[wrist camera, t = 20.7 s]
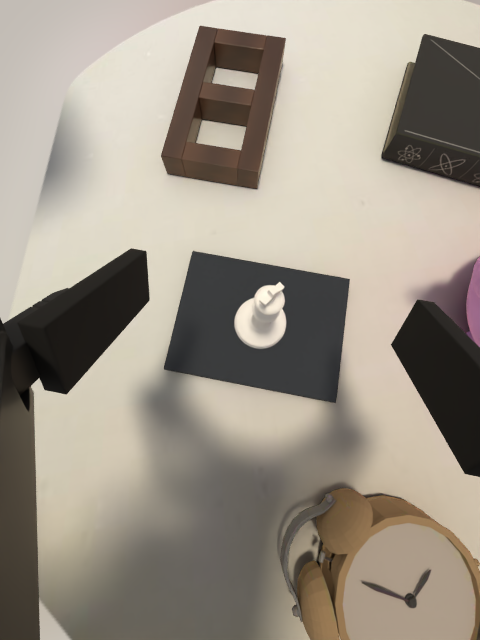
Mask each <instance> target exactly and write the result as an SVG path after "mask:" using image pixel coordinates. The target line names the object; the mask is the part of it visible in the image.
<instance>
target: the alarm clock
mask: <svg viewBox="0 0 480 640" xmlns="http://www.w3.org/2000/svg"><path fill="white" fill-rule="evenodd" d="M316 516H317V517H316ZM313 517H316V520H317V530H318V533H319V536H320V539H321V541H322V543H323V546H322V550H321V552H320V556H319V559H318V560H319V562H320V566H319V565H318V564H317V562H316V561H311V562H309V563H307V564H305V565H304V566H303V568H302V570H301V572H300V574H299V577H298V583H297V596H296V593H295V591H294V588H293V585H292V583H291V582H290V580H289V577H288V572H287V564H288V554H289V549H290V546H291V543H292V541H293V539H294V537H295V535H296V533H297V532H298V530H299V529H300V527H301V526H302V525H303V524H304V523H305V522H307V521H308V520H310V519H312V518H313ZM281 564H282V570H283V573H284V576H285V580H286V582H287V585H288V588H289V590H290V592H291V593H292V595H293V597H294V600H295V602H296V605H294V606H293V608H292V611H293V615H294V616H296V617H298V616H299V617H300V620H301V622H302V621H303V624H304V627H305V629H306V632H307V634H308V636H309V638H310V639H311V640H339V636H340V638H341V640H476V639H477V634H478V628H479V622H480V571H479V569H478V566H479V565H480V563H479V561H478V560H477V559H473V557H472V555H471V553H470V551H469V550H468V549H467V548H466V547H465V546H464V545H463V543H462V542H461V541H460V540H459V539H458V538H457V537H456V536H455V535H454V533H453V532H451V531H450V530H448V529H447V528H445V527H443V526H442V525H440V524H439V523H437V522H436V521H435V520H433V519H432V518H430V517H429V516H428V515H426V514H425V513H424V512H423V511H422V510H420V509H419V508H417V507H415V506H414V505H412V504H410V503H409V502H407V501H405V500H404V499H399V498H394V497H390V496H385V495H382V496H375V497H369V498H365V497H364V496H363V495H361V494H360V493H358V492H356V491H355V490H352V489H346V488H341V489H337V490H334V491H332V492H331V493H327V494H326V495H325V498H324V499H323V501H322V502H321V503H320V504H319V505H316V506H313V507H310V508H308V509H306V510H304V511H302V512H301V513H299V514H298V515H297V516H296V517H295V518H294V519H293V521H292V522H291V524H290V525H289V527H288V529H287V531H286V533H285V536H284V538H283V543H282V548H281ZM297 597H298V599H297ZM338 633H339V634H338Z"/></svg>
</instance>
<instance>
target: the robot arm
mask: <svg viewBox="0 0 480 640" xmlns="http://www.w3.org/2000/svg"><path fill="white" fill-rule="evenodd" d="M148 301H149V285H148V269H147V254H146V251H142V250H137V249H130V250H128V251H126V252H125V253H123V254H122V255H120V256H119V257H117V258H116V259H114V260H113V261H111V262H110V263H108V264H106V265H105V266H103V267H102V268H100V269H99V270H97V271H96V272H94V273H93V274H91V275H90V276H88V277H86V278H85V279H83V280H82V281H80V282H79V283H77V284H76V285H74V286H73V287H71V288H66V289H63V290H60V291H57V292H54V293H52V294H50V295H49V296H47V297H46V298H44V299H42V301H39V302H38V303H36V304H34V305H33V307H30V308H28V309H26V310H25V311H23V312H22V313H20V314H18V315H17V316H15V317H13V318H12V319H10V320H9V321H7V322H5V323H4V324H3V323H2V321H1V319H0V640H40V626H39V587H38V547H37V507H36V468H35V428H34V393H33V390H32V388H31V385H32V384H33V383H34V382H35V381H36V380H37V379H38V378H40V380H41V382H42V385H43V387H44V389H45V390H47V391H52V392H57V393H62V394H67V393H68V392H69V391H70V390H71V389H72V388H73V387H74V385H75V384H76V383H77V382H78V381H79V380H80V379H81V377H82V376H83V375H84V374H85V373H86V372H87V371H88V370H89V368H90V367H91V366H92V365H93V364H94V363H95V362H96V360H97V359H98V358H99V357H100V356H101V355H102V354H103V353H104V351H105V350H106V349H107V348H108V347H109V346H110V345H111V343H112V342H113V341H114V340H115V339H116V338H117V337H118V335H119V334H120V333H121V332H122V331H123V330H124V329H125V328H126V326H127V325H128V324H129V323H130V322H131V321H132V320H133V318H134V317H135V316H136V315H137V314H138V313H139V312H140V310H141V309H142V308H143V307H144V306H145V305H146V304H147V303H148ZM391 346H392V347H393V349H394V351H395V352H396V354H397V356H398V358H399V359H400V361H401V363H402V365H403V366H404V368H405V370H406V372H407V373H408V375H409V377H410V379H411V380H412V382H413V384H414V386H415V387H416V389H417V391H418V393H419V394H420V396H421V398H422V400H423V401H424V403H425V405H426V407H427V408H428V410H429V412H430V414H431V415H432V417H433V419H434V421H435V422H436V424H437V426H438V428H439V429H440V431H441V433H442V435H443V436H444V438H445V440H446V442H447V443H448V445H449V447H450V449H451V450H452V452H453V454H454V456H455V457H456V459H457V461H458V463H459V464H460V466H461V468H462V470H463V471H464V473H465V474H468V475H473V476H478V477H480V347H479V346H478V345H477V344H476V343H475V342H474V341H473V340H472V339H471V338H470V337H469V336H468V335H467V334H466V333H465V332H464V331H463V330H462V329H461V328H460V327H459V326H457V325H456V324H455V323H454V322H453V321H452V320H451V319H450V318H449V317H448V316H447V315H446V314H445V313H444V312H443V311H442V310H441V309H440V308H439V307H438V306H437V305H436V304H435V303H434V302H429V301H423V300H418V299H417V301H416V303H415V305H414V306H413V308H412V310H411V311H410V313H409V315H408V317H407V318H406V320H405V322H404V324H403V325H402V327H401V329H400V330H399V332H398V334H397V336H396V337H395V339H394V341H393V342H392V344H391ZM476 640H480V622H479V628H478V634H477V639H476Z"/></svg>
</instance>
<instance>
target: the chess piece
mask: <svg viewBox="0 0 480 640" xmlns="http://www.w3.org/2000/svg"><path fill="white" fill-rule="evenodd" d="M283 289H284V286H283V285H282V284H281V283H280V282H279V283H278V284H277V285H276V286H274V285H273V286H272V285H266V286H263V287H261V288H260V289H259V290H258V291H257V292H256V294H255V297H254V298H252V299H249V300H247V301H246V302H245V303H243V304H242V305H241V306H240V308H239V309H238V311H237V313H236V316H235V320H234V326H235V330H236V333H237V335H238V337H239V338H240V339H241V341H242V342H244V343H245V344H246V345H248V346H250V347H253V348H257V349H264V348H269V347H271V346H273V345H275V344H276V343H278V342H279V341H280V339H281V338H282V337H283V335H284V332H285V329H286V316H285V313H284V311H283V309H282V308H283V306H284V303H285V297H284V294H283V292H282V290H283Z"/></svg>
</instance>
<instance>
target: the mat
mask: <svg viewBox="0 0 480 640" xmlns="http://www.w3.org/2000/svg"><path fill="white" fill-rule="evenodd" d="M349 281H350V279H346V278H340V277H335V276H329V275H324V274H318V273H312V272H307V271H301V270H296V269H290V268H284V267H279V266H273V265H268V264H262V263H256V262H251V261H245V260H240V259H234V258H229V257H223V256H217V255H212V254H206V253H201V252H195V251H193V252H192V256H191V260H190V264H189V268H188V272H187V276H186V280H185V284H184V288H183V292H182V297H181V301H180V305H179V309H178V313H177V317H176V321H175V325H174V329H173V333H172V337H171V341H170V345H169V349H168V353H167V357H166V361H165V366H164V369H166V370H171V371H176V372H181V373H186V374H191V375H196V376H201V377H206V378H212V379H217V380H222V381H227V382H232V383H237V384H242V385H247V386H252V387H257V388H263V389H268V390H273V391H278V392H283V393H288V394H293V395H298V396H303V397H308V398H313V399H319V400H324V401H329V402H334V403H336V398H337V389H338V380H339V371H340V362H341V353H342V344H343V335H344V326H345V317H346V308H347V299H348V290H349ZM279 282H280V283H281V284H282V285H283V286H284V289H283V290H282V292H283V294H284V297H285V303H284V306H283V308H282V309H283V311H284V313H285V316H286V329H285V332H284V335H283V337H282V338H281V339H280V341H279V342H278V343H276V344H275V345H273V346H271V347H269V348H264V349H257V348H253V347H250V346H248V345H246V344H245V343H244V342H242V341H241V339H240V338H239V337H238V335H237V333H236V330H235V326H234V320H235V316H236V313H237V311H238V309H239V308H240V306H241V305H242V304H243V303H245V302H246V301H247V300H249V299H252V298H254V297H255V294H256V292H257V291H258V290H259V289H260V288H261V287H263V286H266V285H272V286H273V285H274V286H276V285H277V284H278V283H279Z"/></svg>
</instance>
